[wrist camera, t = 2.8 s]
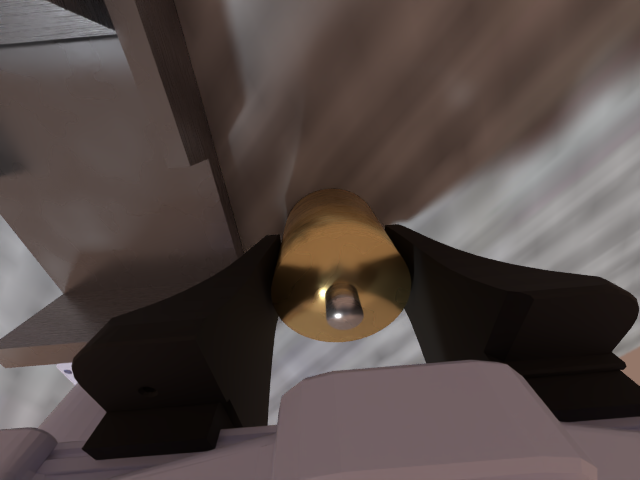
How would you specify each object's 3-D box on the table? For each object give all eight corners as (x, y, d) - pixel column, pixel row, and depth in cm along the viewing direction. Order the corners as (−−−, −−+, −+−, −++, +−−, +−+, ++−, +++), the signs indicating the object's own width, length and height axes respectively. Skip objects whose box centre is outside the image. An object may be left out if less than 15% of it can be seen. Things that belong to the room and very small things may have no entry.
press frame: (254, 290, 14) (232, 356, 10) (95, 303, 14) (13, 374, 10) (128, -162, 6) (-157, -596, 3) (-220, -128, 7) (-1037, -503, 3)
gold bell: (374, 266, 14) (413, 359, 9) (291, 273, 14) (280, 370, 9) (377, 184, 11) (435, 242, 6) (278, 193, 11) (250, 258, 6)
